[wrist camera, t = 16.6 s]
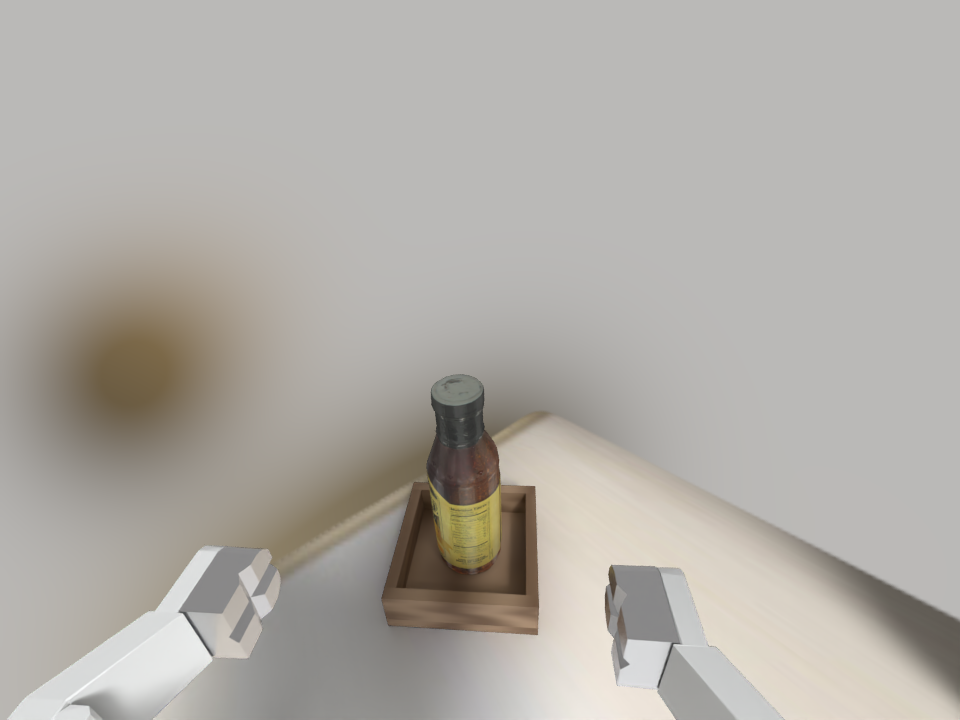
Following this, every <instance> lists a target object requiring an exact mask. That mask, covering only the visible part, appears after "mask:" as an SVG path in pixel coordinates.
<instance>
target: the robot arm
mask: <svg viewBox="0 0 960 720" xmlns="http://www.w3.org/2000/svg"><path fill="white" fill-rule="evenodd" d="M271 559H272V556H271V554H270V552H269V550H268V549H260V548H244V547H228V546H212V545H205V546H204V547H203V548H201V549H200V550H199V551H198V552H197V553H196V554H195V556H194V557H193V559H192V560H191V562H190V563H189V564H188V566H187V567H186V568H185V570H184V571H183V573H182V574H181V575H180V577H179V578H178V580H177V581H176V582H175V584H174V585H173V587H172V588H171V589H170V591H169V592H168V594H167V595H166V596H165V598H164V600H162V602H161V603H160V605H159V606H158V607H157V609H156V610H155V611H148V612H147V613H146V614H144V615H142V616H141V617H139V618H138V619H137V620H135V621H134V622H132V623H131V624H129V625H128V626H127V627H125V628H124V629H122V630H121V631H119V632H118V633H117V634H115V635H114V636H112V637H111V638H110V639H108V640H107V641H105V642H104V643H102V644H101V645H100V646H98V647H97V648H95V649H94V650H92V651H91V652H90V653H88V654H87V655H85V656H84V657H82V658H81V659H80V660H78V661H77V662H76V663H74V664H72V665H71V666H70V667H68V668H67V669H65V670H64V671H63V672H61V673H60V674H58V675H57V676H56V677H54V678H53V679H51V680H50V681H48V682H47V683H45V684H44V685H42V686H41V687H40V688H38V689H37V690H35V691H34V692H32V693H31V694H30V695H28V696H27V697H25V698H24V700H23V701H22V702H21V703H20V704H19V705H18V707H17V708H16V709H15V710H14V712H13V713H12V714H11V715H10V716H9V718H8V719H7V720H152V719H153V718H154V717H155V716H156V715H157V714H158V713H159V712H160V711H161V710H162V709H163V708H164V707H165V706H167V705H168V704H169V703H170V702H171V701H172V700H173V699H174V698H175V697H176V696H177V695H178V694H179V693H180V692H181V691H182V690H183V689H184V688H185V687H186V686H187V685H188V684H189V683H190V682H191V681H192V680H193V679H194V678H195V677H196V676H197V675H198V674H199V673H200V672H201V671H202V670H203V669H204V668H205V667H206V666H207V665H208V664H209V663H210V662H212V661H213V658H212V657H214V658H239V659H248V658H249V656H250V654H251V652H252V650H253V648H254V646H255V644H256V642H257V640H258V638H259V636H260V634H261V632H262V630H263V627H262V620H261V619H262V618H263V617H264V616H266V615H267V614H268V613H269V612H270V611H272V609H273V607H274V605H275V603H276V601H277V598H278V595H279V590H280V586H281V581H280V574H279V572H278V569H277V568H275V567H274V566H273V565H271V564H270V561H271ZM608 575H609V581H610V584H609V585H608V586H606V592H605V613H606V622H607V628H608V631H609V633H610V634H611V635H612V636H613V638H614V640H613V645H612V651H611V654H612V660H613V666H614V672H615V678H616V684H617V686H626V687H636V688H646V689H656V690H658V694H659V695H660V697H661V698H662V699H663V701H664V702H665V704H666V705H667V707H668V708H669V710H670V711H671V713H672V714H673V716H674V717H675V719H676V720H785V719H784V718H783V717H782V716H781V715H780V714H779V713H778V712H777V711H776V710H775V709H774V708H773V707H772V706H771V705H770V703H769V702H768V701H767V700H766V699H765V698H764V697H763V696H762V695H761V694H760V693H759V692H758V691H757V690H756V689H755V688H754V686H753V685H752V684H751V683H750V682H749V681H748V680H747V679H746V678H745V677H744V676H743V675H742V674H741V673H740V672H739V671H738V669H737V668H736V667H735V666H734V665H733V664H732V663H731V662H730V661H729V660H728V659H727V658H726V657H725V656H724V655H723V654H722V652H721V651H720V650H719V649H718V648H717V647H713V646H709V645H708V642H707V640H706V637H705V634H704V631H703V628H702V625H701V622H700V619H699V616H698V613H697V610H696V607H695V604H694V601H693V599H692V596H691V593H690V590H689V587H688V584H687V581H686V578H685V575H684V573H683V572H682V570H681V569H679V568H664V567H655V566H624V565H611V566H610V568H609V574H608Z"/></svg>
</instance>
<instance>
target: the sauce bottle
mask: <svg viewBox="0 0 960 720" xmlns="http://www.w3.org/2000/svg"><path fill="white" fill-rule="evenodd" d="M431 400H432V404H431V405H432V407H433V409H434V411H435V416H436V424H437V427H436V437H435V440H434V443H433V446H432V449H431V452H430V455H429V458H428V460H427V476H428V482H429V489H430V496H431V503H432V510H433V517H434V523H435V530H436V537H437V544H438V548H439V551H440V553H441V557H442V559H443V561H444V562H445V563H446V564H447V566H448V567H450V568H451V569H453V570H454V571H456V572H457V573H460V574H465V575H473V574H479V573H481V572H485V571H487V570H488V569H489V568H490V567H491V566H492V565H493V564H494V562H495V561H496V559H497V557H498V555H499V553H500V550H501V540H502V524H501V483H500V470H499V455H498V451H497V447H496V445H495V443H494V441H493V440H492V439H491V437H490V436H489V435H488V433H487V432H486V431H485V430H484V423H483V410H482V409H483V406H484V387H483V385H482V383H481V382H480V381H478V380H477V379H476V378H474V377H472V376H469V375H451V376H448V377H445V378H443V379H441V380H439V381H437V382H436V383H435V384H434V385H433V387H432V389H431Z"/></svg>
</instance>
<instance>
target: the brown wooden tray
mask: <svg viewBox="0 0 960 720" xmlns="http://www.w3.org/2000/svg"><path fill="white" fill-rule="evenodd" d="M501 524H502V540H501V550H500V553H499V555H498V557H497V559H496V561H495V562H494V564H493V565H492V566H491V567H490V568H489V569H488V570H487V571H485V572H481V573H479V574H473V575H465V574H460V573H457V572H456V571H454V570H453V569H451V568H450V567H448V566H447V564H446V563H445V562H444V561H443V559H442V557H441V553H440V551H439V548H438V544H437V537H436V530H435V523H434V517H433V510H432V503H431V496H430V489H429V483H420V482H414V484H413V488H412V491H411V495H410V498H409V502H408V506H407V509H406V513H405V516H404V520H403V523H402V527H401V530H400V534H399V538H398V541H397V545H396V548H395V552H394V555H393V559H392V562H391V566H390V570H389V573H388V577H387V580H386V584H385V587H384V591H383V594H382V598H381V599H382V603H383V607H384V611H385V615H386V618H387V622H388V625H390V626H405V627H421V628H437V629H452V630H468V631H484V632H500V633H515V634H531V635H538V615H539V597H538V563H537V530H536V496H535V486H509V485H501Z"/></svg>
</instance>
